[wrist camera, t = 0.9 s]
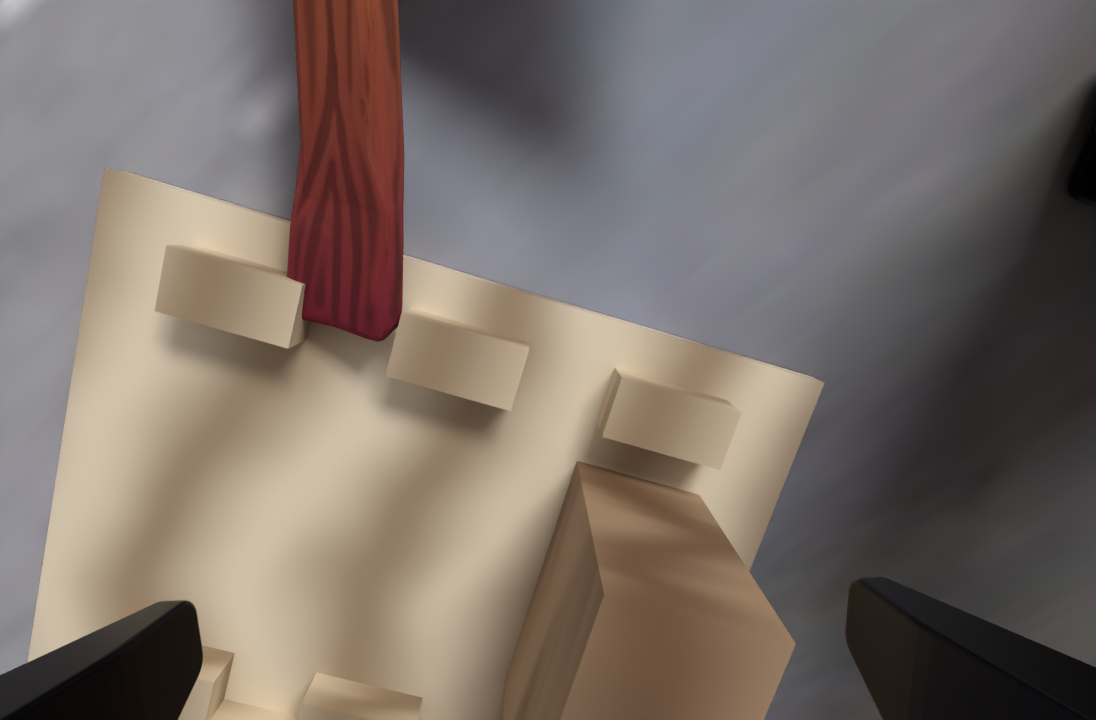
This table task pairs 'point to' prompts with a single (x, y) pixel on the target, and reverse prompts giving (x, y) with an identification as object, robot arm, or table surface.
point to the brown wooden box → (643, 613)
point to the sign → (349, 166)
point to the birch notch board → (360, 462)
